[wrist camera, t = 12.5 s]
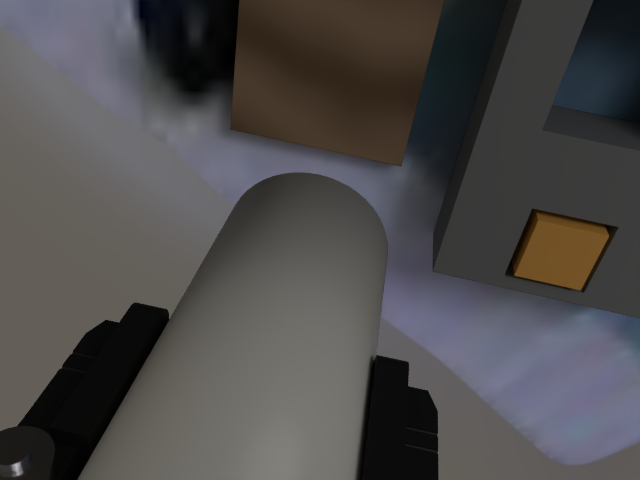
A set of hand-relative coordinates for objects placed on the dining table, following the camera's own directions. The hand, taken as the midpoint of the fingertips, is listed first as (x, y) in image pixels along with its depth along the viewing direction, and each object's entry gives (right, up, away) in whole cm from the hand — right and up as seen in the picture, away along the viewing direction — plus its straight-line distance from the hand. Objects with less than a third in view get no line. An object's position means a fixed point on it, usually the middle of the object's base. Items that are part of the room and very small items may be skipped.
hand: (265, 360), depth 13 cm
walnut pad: (+2, +13, +18) cm, 22 cm away
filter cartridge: (+1, +3, +4) cm, 5 cm away
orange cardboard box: (+14, +4, +21) cm, 26 cm away
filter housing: (+15, +9, +18) cm, 25 cm away
